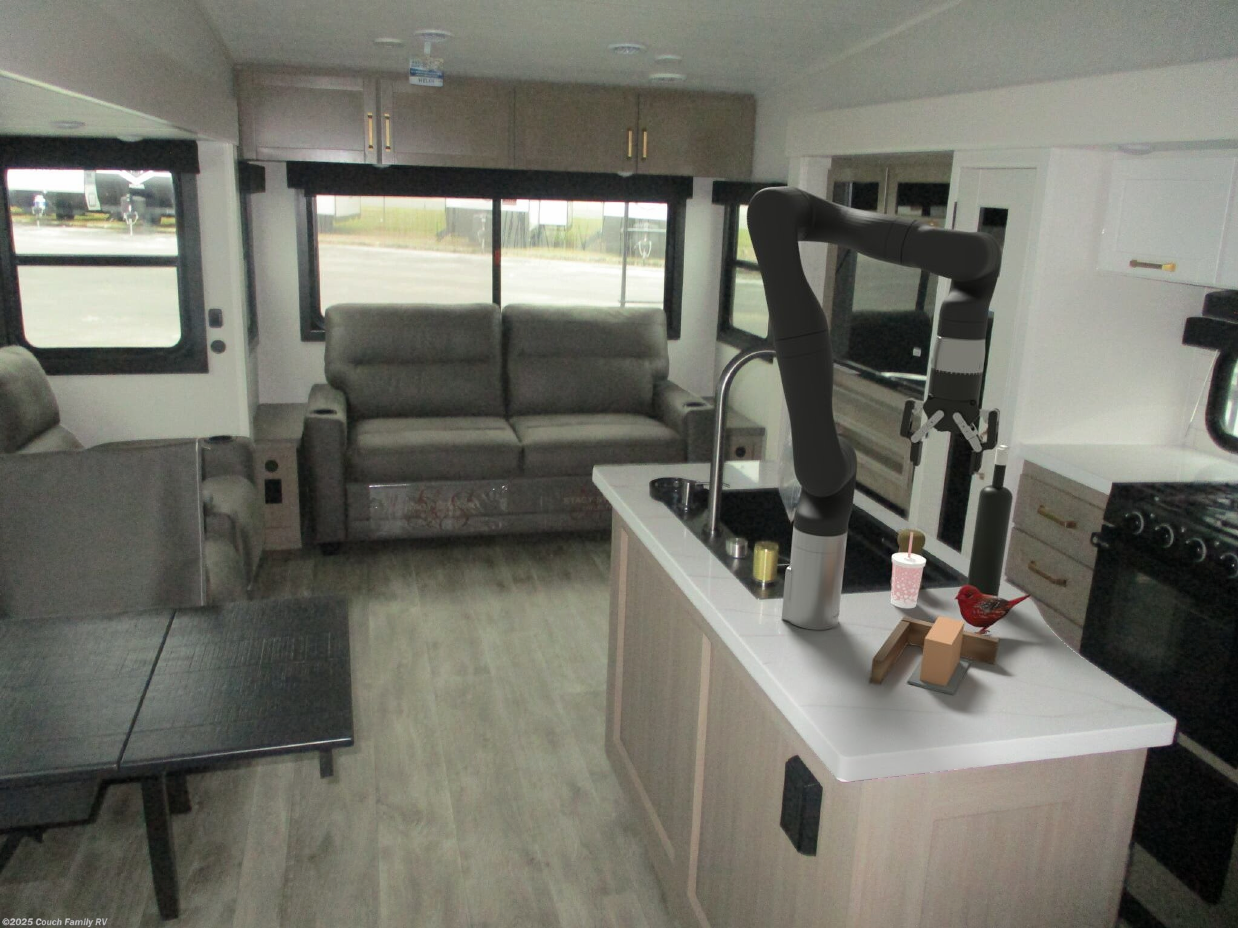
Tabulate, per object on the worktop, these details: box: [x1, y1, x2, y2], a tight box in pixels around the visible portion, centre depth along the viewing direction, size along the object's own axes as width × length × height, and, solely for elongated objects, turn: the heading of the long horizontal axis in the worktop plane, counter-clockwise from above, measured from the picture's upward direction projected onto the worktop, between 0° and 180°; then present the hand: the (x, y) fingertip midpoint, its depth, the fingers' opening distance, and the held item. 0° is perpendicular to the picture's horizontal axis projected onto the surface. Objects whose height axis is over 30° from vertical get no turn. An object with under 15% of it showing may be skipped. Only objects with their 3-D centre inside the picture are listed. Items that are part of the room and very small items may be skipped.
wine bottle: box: [966, 444, 1013, 597], centre depth 183 cm, size 6×6×30 cm
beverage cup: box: [890, 532, 927, 609], centre depth 181 cm, size 6×6×14 cm
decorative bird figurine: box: [954, 584, 1031, 635], centre depth 170 cm, size 3×18×10 cm, turn 114°
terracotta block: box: [920, 615, 965, 686], centre depth 156 cm, size 10×4×7 cm, turn 150°
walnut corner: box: [869, 616, 1000, 685], centre depth 156 cm, size 16×19×4 cm
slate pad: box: [907, 657, 971, 696], centre depth 157 cm, size 7×13×1 cm, turn 150°
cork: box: [889, 528, 927, 590], centre depth 191 cm, size 6×6×11 cm
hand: (943, 469), depth 153 cm, fingers open, 8 cm apart
